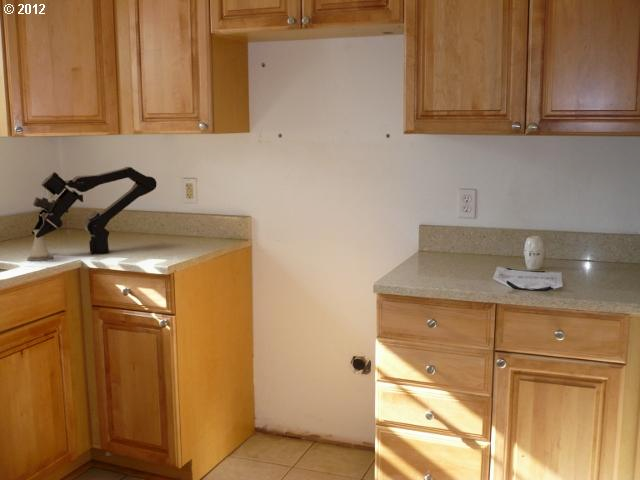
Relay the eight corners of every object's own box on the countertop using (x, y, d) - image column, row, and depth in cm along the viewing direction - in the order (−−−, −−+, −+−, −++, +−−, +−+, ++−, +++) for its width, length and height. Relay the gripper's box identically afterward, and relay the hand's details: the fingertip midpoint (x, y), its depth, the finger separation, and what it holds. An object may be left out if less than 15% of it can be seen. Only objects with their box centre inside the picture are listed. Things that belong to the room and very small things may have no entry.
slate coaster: (54, 255, 268) (54, 253, 268) (51, 260, 260) (51, 258, 259) (29, 257, 266) (29, 255, 266) (25, 261, 257) (25, 259, 257)
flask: (27, 259, 258) (24, 231, 257) (32, 255, 266) (30, 228, 264) (47, 258, 259) (45, 231, 258) (52, 254, 266) (50, 228, 265)
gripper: (41, 187, 268) (12, 218, 265) (50, 191, 252) (19, 224, 249) (65, 206, 274) (37, 237, 270) (75, 211, 258) (45, 244, 254)
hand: (34, 235), depth 261 cm, fingers open, 9 cm apart
